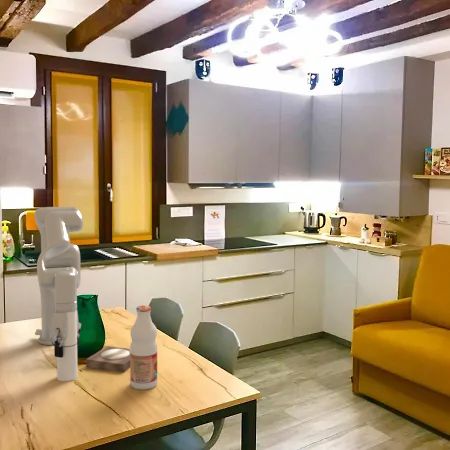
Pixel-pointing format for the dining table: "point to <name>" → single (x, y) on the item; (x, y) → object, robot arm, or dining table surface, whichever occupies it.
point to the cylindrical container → (69, 351)
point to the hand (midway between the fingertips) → (66, 352)
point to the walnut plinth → (110, 359)
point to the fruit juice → (143, 351)
